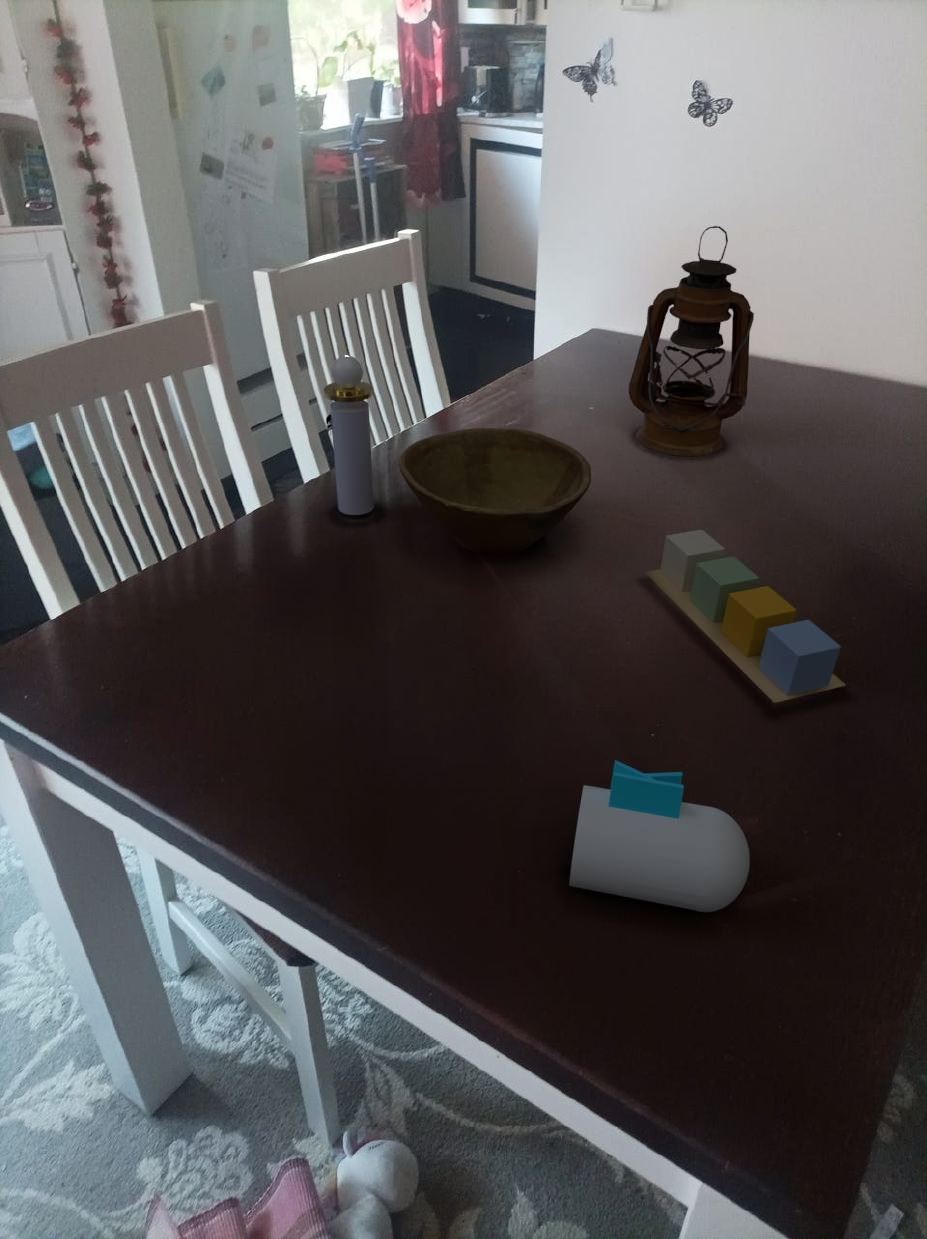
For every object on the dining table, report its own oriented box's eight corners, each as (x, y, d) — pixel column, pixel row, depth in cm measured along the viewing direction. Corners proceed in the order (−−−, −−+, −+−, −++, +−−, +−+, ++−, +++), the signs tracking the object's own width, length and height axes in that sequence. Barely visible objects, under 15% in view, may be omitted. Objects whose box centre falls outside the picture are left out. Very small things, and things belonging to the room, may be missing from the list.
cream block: (695, 564, 99) (702, 529, 97) (717, 585, 96) (725, 548, 93) (659, 571, 98) (665, 535, 95) (681, 592, 94) (688, 555, 92)
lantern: (735, 428, 135) (777, 219, 118) (738, 462, 125) (784, 238, 108) (626, 417, 138) (651, 212, 121) (619, 450, 128) (646, 230, 111)
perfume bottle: (387, 508, 112) (381, 353, 100) (361, 526, 108) (351, 367, 96) (351, 497, 114) (341, 345, 103) (324, 515, 110) (310, 358, 99)
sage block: (726, 592, 94) (733, 555, 92) (750, 615, 91) (759, 577, 88) (689, 599, 93) (696, 562, 90) (712, 623, 90) (720, 585, 87)
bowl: (412, 596, 95) (410, 515, 89) (393, 501, 113) (391, 429, 108) (606, 582, 98) (616, 502, 92) (556, 492, 116) (562, 421, 111)
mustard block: (758, 623, 90) (768, 585, 87) (786, 648, 86) (797, 609, 83) (720, 631, 88) (728, 593, 86) (746, 657, 85) (756, 618, 82)
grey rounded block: (769, 813, 56) (582, 781, 58) (745, 940, 58) (565, 905, 60) (748, 753, 67) (593, 728, 69) (729, 861, 69) (578, 834, 71)
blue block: (797, 658, 85) (808, 619, 82) (828, 686, 81) (841, 646, 79) (757, 667, 84) (767, 627, 81) (787, 696, 80) (798, 656, 77)
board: (704, 567, 101) (706, 560, 100) (843, 693, 82) (846, 685, 81) (643, 579, 98) (644, 571, 98) (772, 710, 80) (774, 702, 79)
